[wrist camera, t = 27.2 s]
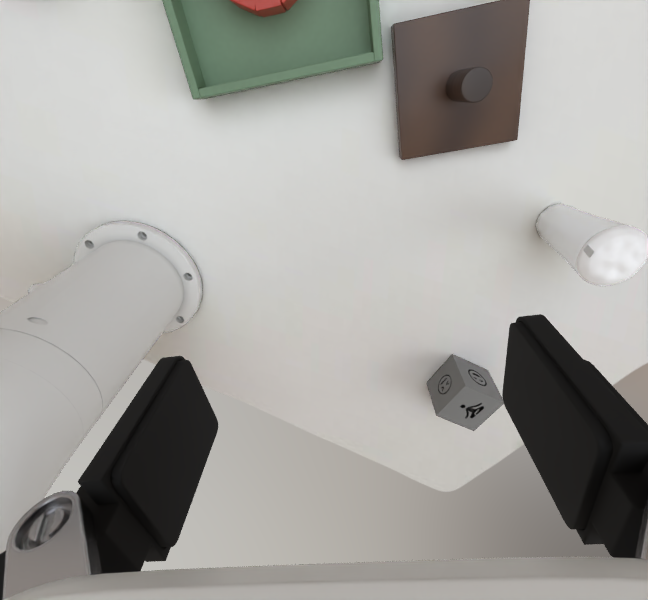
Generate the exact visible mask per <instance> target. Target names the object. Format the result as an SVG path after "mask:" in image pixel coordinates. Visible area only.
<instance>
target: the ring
mask: <svg viewBox="0 0 648 600" xmlns="http://www.w3.org/2000/svg"><path fill="white" fill-rule="evenodd" d="M230 1H231V2H233V3H234V4H235V5H237V6H238V7H239V8H241V9H243V10H246V11H248V12H250V13H252V14H255V15H257V16H259V17H261V16H262V17H268V16H272V15H276V14H281V13H285V12H286V10H289V9H290V8H291V7H292V6H293V5H294V3H295V2H296V1H297V0H230Z"/></svg>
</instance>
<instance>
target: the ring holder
mask: <svg viewBox="0 0 648 600" xmlns="http://www.w3.org/2000/svg"><path fill="white" fill-rule="evenodd" d="M529 4H530V0H500V1H495V2H491V3H486V4H482V5H477V6H473V7H468V8H464V9H459V10H455V11H450V12H446V13H441V14H436V15H432V16H427V17H423V18H418V19H414V20H409V21H405V22H400V23H396V24H393V26H392V27H391V29H392V45H393V60H394V76H395V92H396V108H397V123H398V139H399V155H400V158H401V159H402V160H405V159H410V158H416V157H422V156H428V155H433V154H439V153H445V152H451V151H456V150H462V149H468V148H474V147H479V146H485V145H491V144H497V143H503V142H508V141H514V140H517V137H518V126H519V115H520V103H521V92H522V81H523V70H524V59H525V48H526V37H527V26H528V15H529Z"/></svg>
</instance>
